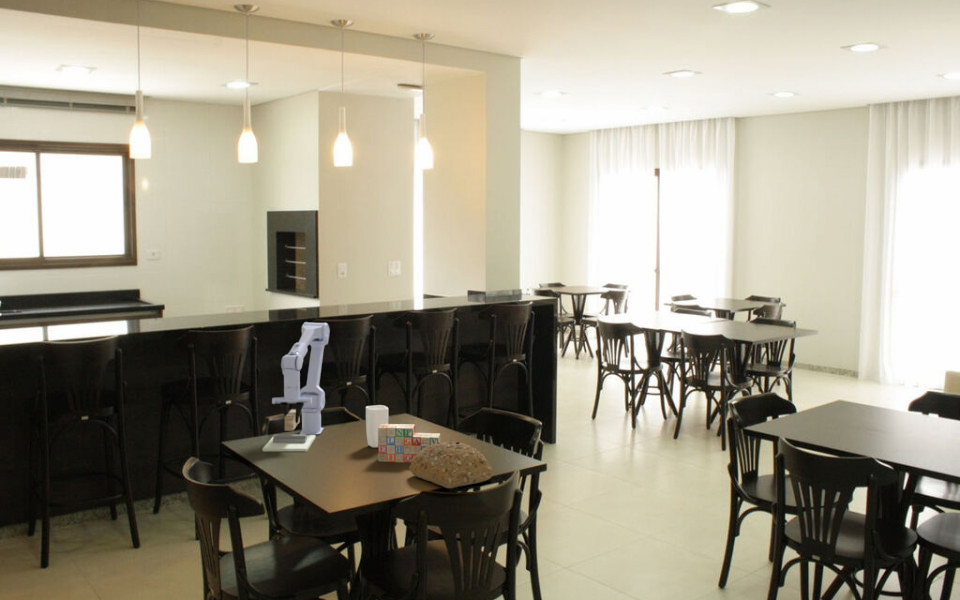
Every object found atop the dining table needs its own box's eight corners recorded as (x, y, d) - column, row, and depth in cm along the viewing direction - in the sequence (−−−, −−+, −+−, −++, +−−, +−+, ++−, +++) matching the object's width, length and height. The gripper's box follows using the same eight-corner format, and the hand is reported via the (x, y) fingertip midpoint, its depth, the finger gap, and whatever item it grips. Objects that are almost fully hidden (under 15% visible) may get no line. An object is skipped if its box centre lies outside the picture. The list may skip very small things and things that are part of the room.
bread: (402, 476, 267) (402, 441, 266) (452, 465, 281) (452, 431, 280) (449, 495, 249) (449, 456, 248) (500, 481, 263) (500, 445, 262)
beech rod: (291, 421, 312) (291, 409, 311) (299, 421, 312) (299, 409, 311) (284, 430, 298) (284, 417, 297) (292, 430, 298) (292, 417, 297)
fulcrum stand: (274, 437, 315) (274, 428, 315) (315, 437, 316) (315, 428, 315) (262, 451, 295) (262, 441, 295) (306, 451, 296) (306, 441, 295)
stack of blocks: (440, 458, 288) (440, 424, 287) (438, 463, 282) (438, 429, 281) (381, 456, 290) (381, 423, 289) (377, 461, 284) (377, 427, 283)
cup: (371, 449, 299) (371, 410, 298) (364, 445, 305) (364, 406, 304) (389, 447, 302) (389, 408, 301) (382, 443, 309) (382, 404, 307)
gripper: (270, 388, 299) (270, 424, 300) (309, 388, 300) (309, 424, 301) (274, 385, 306) (274, 420, 307) (312, 385, 307) (313, 420, 308)
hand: (292, 422), depth 305 cm, fingers closed on beech rod, 3 cm apart
